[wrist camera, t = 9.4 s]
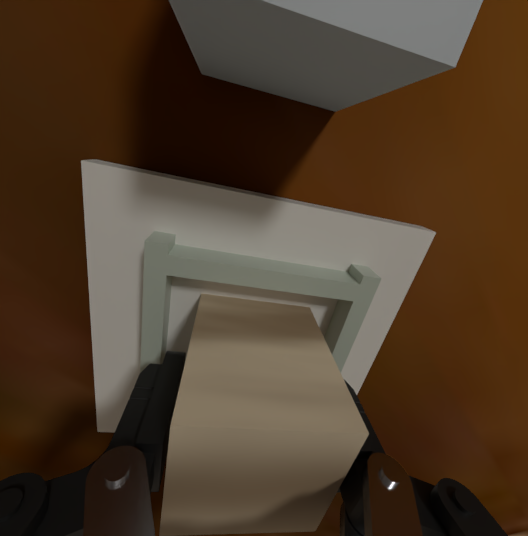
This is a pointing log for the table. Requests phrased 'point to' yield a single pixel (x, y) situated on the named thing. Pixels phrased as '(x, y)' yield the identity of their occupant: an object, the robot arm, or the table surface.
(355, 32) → the grey-blue block
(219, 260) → the baseplate
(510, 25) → the table surface
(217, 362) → the beech block
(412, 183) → the table surface
